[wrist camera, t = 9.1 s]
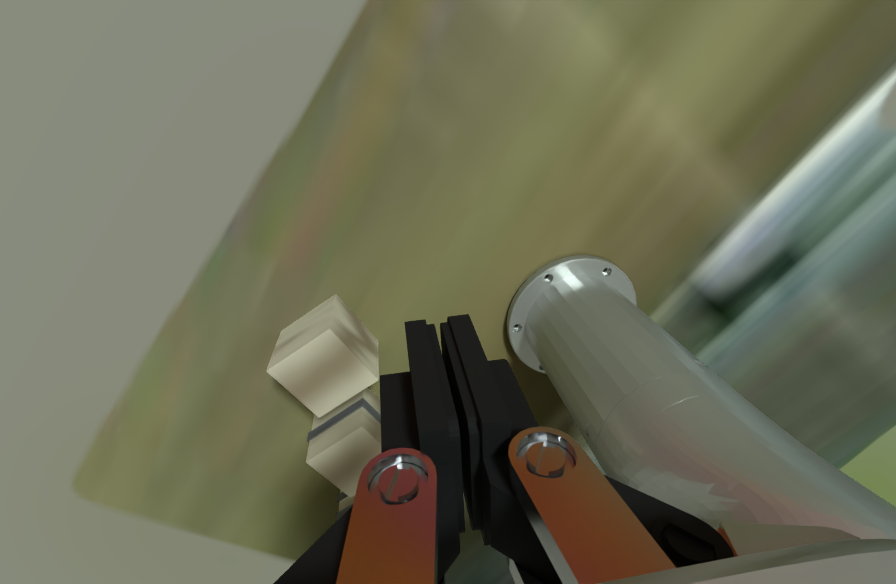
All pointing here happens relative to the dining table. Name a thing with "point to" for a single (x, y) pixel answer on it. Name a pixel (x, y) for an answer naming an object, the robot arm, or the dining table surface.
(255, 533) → the dining table surface
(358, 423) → the banded block one
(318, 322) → the plain block
